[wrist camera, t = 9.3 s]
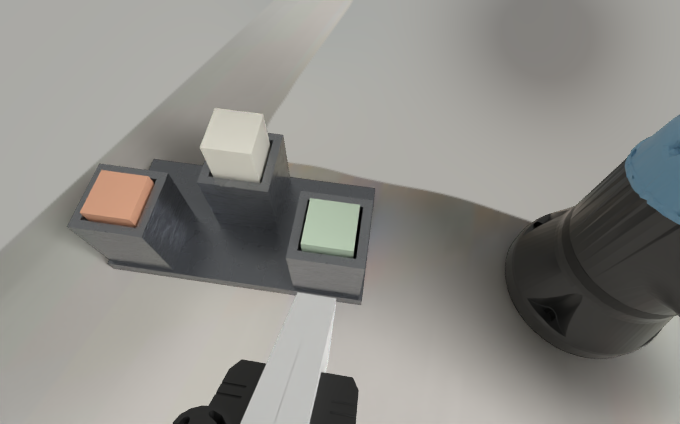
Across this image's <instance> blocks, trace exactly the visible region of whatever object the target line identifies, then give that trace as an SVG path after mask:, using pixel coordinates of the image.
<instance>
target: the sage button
mask: <svg viewBox="0 0 680 424" xmlns="http://www.w3.org/2000/svg"><path fill="white" fill-rule="evenodd" d="M359 210H360V205H358V204H350V203H343V202H336V201H328V200H321V199H313V198H310V201H309V206H308V211H307V216H306V221H305V225H304V230H303V235H302V240H301V249H302V251H304V252H311V253H318V254H325V255H332V256H339V257H346V258H353V256H354V248H355V241H356V233H357V225H358V218H359Z"/></svg>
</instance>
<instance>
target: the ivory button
mask: <svg viewBox="0 0 680 424" xmlns="http://www.w3.org/2000/svg"><path fill="white" fill-rule="evenodd" d="M200 149H201V151H202V153H203V156H204V158H205V160H206V162H207V164H208V166H209V169H210V171H211V173H212V175H213V177H216V178H224V179H231V180H239V181H246V182H254V183H262V179H263V175H264V172H265V168H266V165H267V161H268V158H269V154H270V150H271V147H270V142H269V137H268V133H267V128H266V123H265V119H264V114H259V113H251V112H243V111H235V110H227V109H219V108H215V109H214V112H213V114H212V117H211V119H210V122H209V125H208V127H207V130H206V132H205V135H204V138H203V140H202V143H201V145H200Z"/></svg>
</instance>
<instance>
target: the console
mask: <svg viewBox="0 0 680 424" xmlns="http://www.w3.org/2000/svg"><path fill="white" fill-rule="evenodd" d="M268 137H269V142H270V147H271V150H270V154H269V158H268V161H267V165H266V168H265V172H264V175H263V179H262V183H254V182H246V181H239V180H231V179H224V178H216V177H213V175H212V173H211V171H210V169H209V166H208V164H207V162H206V160H205V162H204V164H203V166H202V165H195V164H187V163H179V162H172V161H164V160H157V159H154V160H153V162H152V164H151V166H150V169H149V170H142V169H135V168H128V167H120V166H113V165H105V164H99V166H98V168H97V170H96V171H95V173H94V175H93V177H92V179H91V181H90V183H89V185H88V187H87V189H86V191H85V193H84V195H83V197H82V199H81V200H80V202H79V204H78V206H77V208H76V210H75V212H74V214H73V216H72V218H71V220H70V222H69V224H68V226H67V227H68V228H69V229H70V230H72V231H73V232H74V233H76V234H77V235H78V236H80V237H81V238H82V239H83V240H85V241H86V242H87V243H89V244H90V245H91V246H92V247H94V248H95V249H96V250H98V251H99V252H100V253H102V254H103V255H104V256H105V257H107V258H108V259H109V261H108V264H109V265H110V266H112V267H113V268H114V269H120V270H127V271H134V272H141V273H148V274H154V275H161V276H168V277H175V278H181V279H188V280H195V281H202V282H209V283H215V284H222V285H229V286H236V287H243V288H249V289H256V290H263V291H270V292H277V293H283V294H290V295H297V292H299V293H305V294H312V295H318V296H324V297H330V298H336V301H338V302H344V303H351V304H358V305H361V301H362V293H363V285H364V277H365V268H366V260H367V252H368V244H369V235H370V227H371V219H372V210H373V202H374V194H375V188H368V187H361V186H353V185H346V184H338V183H331V182H323V181H316V180H308V179H300V178H293V177H290V174H289V168H288V162H287V156H286V150H285V143H284V138H283V135H280V134H271V133H268ZM101 170H106V171H113V172H120V173H128V174H135V175H143V176H149V177H150V179H151V180H152V182H153V183H154V187H153V189H152V191H151V194H150V196H149V198H148V201H147V203H146V205H145V208H144V210H143V212H142V215H141V217H140V219H139V222H138V224H137V227H136V228H134V227H127V226H120V225H113V224H106V223H99V222H92V221H89V220H88V219H86V218H85V217H84V216H83V215H82V214H81V213H80V211H81V209H82V207H83V205H84V203H85V201H86V199H87V197H88V195H89V193H90V191H91V189H92V187H93V185H94V183H95V182H96V180H97V178H98V176H99V174H100V172H101ZM310 198H313V199H321V200H328V201H336V202H343V203H350V204H358V205H360V210H359V218H358V225H357V233H356V241H355V248H354V256H353V258H346V257H339V256H332V255H325V254H318V253H311V252H304V251H302V249H301V240H302V235H303V230H304V225H305V221H306V216H307V211H308V206H309V201H310Z"/></svg>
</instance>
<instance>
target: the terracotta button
mask: <svg viewBox="0 0 680 424" xmlns="http://www.w3.org/2000/svg"><path fill="white" fill-rule="evenodd" d="M153 187H154V183H153V182H152V180H151V179H150V177H149V176H143V175H135V174H128V173H120V172H113V171H106V170H101V172H100V174H99V176H98V178H97V180H96V182H95V183H94V185H93V187H92V189H91V191H90V193H89V195H88V197H87V199H86V201H85V203H84V205H83V207H82V209H81V211H80V213H81V214H82V215H83V216H84V217H85V218H86V219H88V220H89V221H92V222H99V223H106V224H113V225H120V226H127V227H134V228H136V227H137V224H138V222H139V219H140V217H141V215H142V212H143V210H144V208H145V205H146V203H147V201H148V198H149V196H150V194H151V191H152V189H153Z"/></svg>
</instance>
